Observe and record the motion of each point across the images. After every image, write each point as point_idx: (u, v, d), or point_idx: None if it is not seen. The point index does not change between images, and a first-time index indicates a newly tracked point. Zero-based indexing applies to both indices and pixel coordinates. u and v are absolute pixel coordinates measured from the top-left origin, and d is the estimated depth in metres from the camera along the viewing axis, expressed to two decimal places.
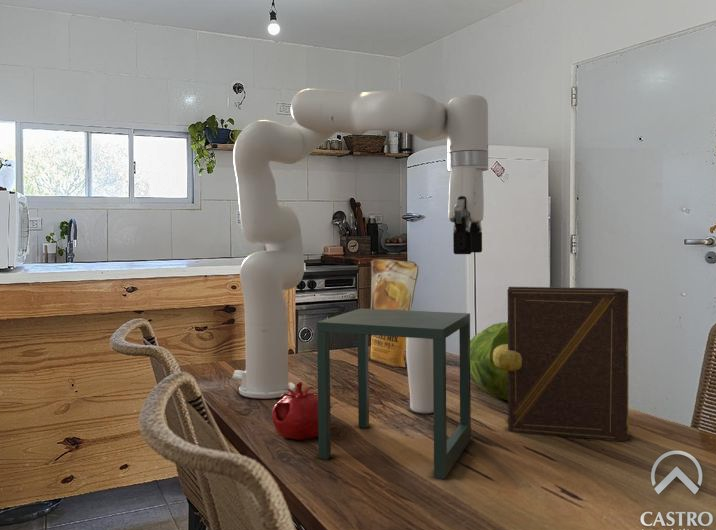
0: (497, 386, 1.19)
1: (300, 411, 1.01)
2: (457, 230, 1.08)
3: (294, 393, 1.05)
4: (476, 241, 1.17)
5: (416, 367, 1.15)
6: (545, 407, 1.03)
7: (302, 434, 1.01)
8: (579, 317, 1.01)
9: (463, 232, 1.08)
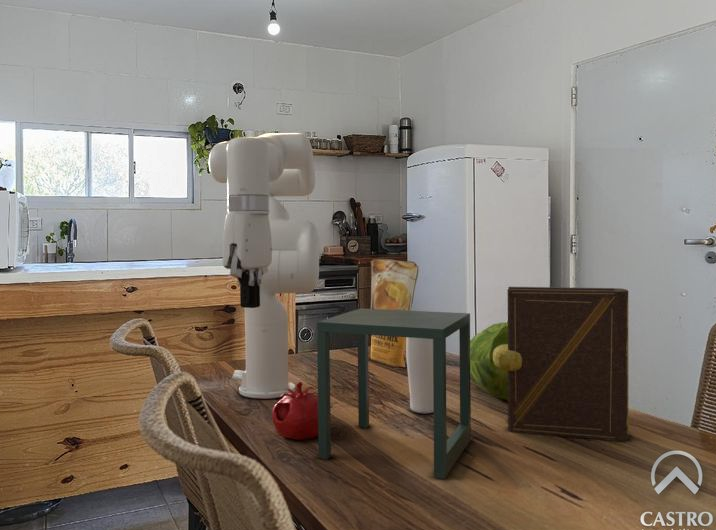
0: (497, 386, 1.19)
1: (300, 411, 1.01)
2: (241, 284, 1.08)
3: (294, 393, 1.05)
4: None
5: (416, 367, 1.15)
6: (545, 407, 1.03)
7: (302, 434, 1.01)
8: (579, 317, 1.01)
9: (247, 286, 1.07)
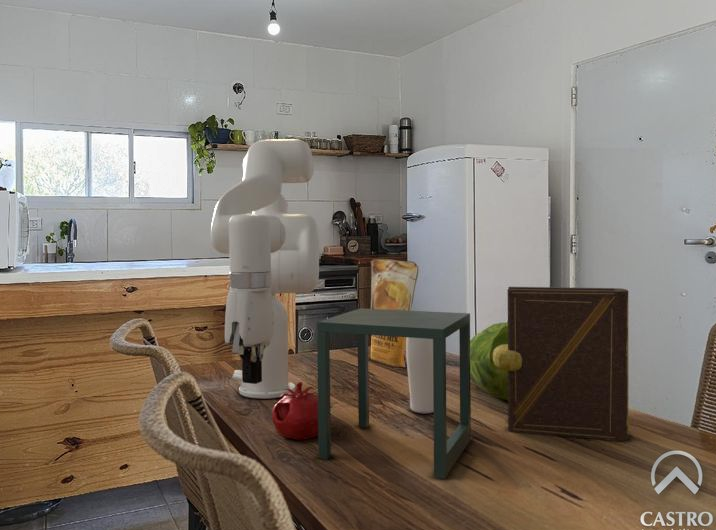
0: (497, 386, 1.19)
1: (300, 411, 1.01)
2: (243, 360, 1.08)
3: (294, 393, 1.05)
4: None
5: (416, 367, 1.15)
6: (545, 407, 1.03)
7: (302, 434, 1.01)
8: (579, 317, 1.01)
9: (249, 362, 1.08)
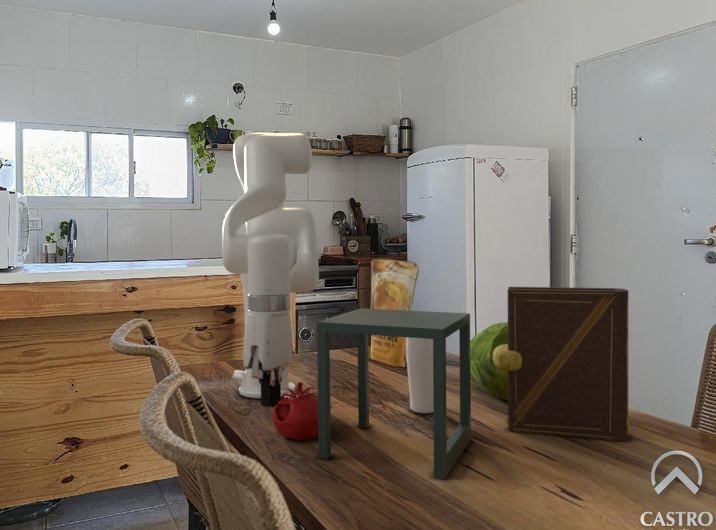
0: (497, 386, 1.19)
1: (301, 411, 1.01)
2: (262, 383, 1.06)
3: (295, 393, 1.05)
4: None
5: (416, 367, 1.15)
6: (545, 407, 1.03)
7: (303, 434, 1.01)
8: (579, 317, 1.01)
9: (268, 386, 1.06)
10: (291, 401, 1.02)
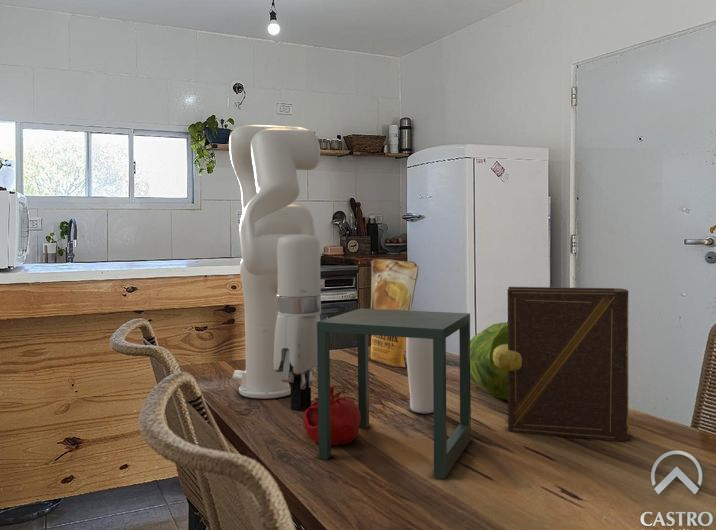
0: (497, 386, 1.19)
1: (333, 416, 0.98)
2: (292, 387, 1.03)
3: None
4: None
5: (416, 367, 1.15)
6: (545, 407, 1.03)
7: (335, 440, 0.98)
8: (579, 317, 1.01)
9: (298, 389, 1.03)
10: None
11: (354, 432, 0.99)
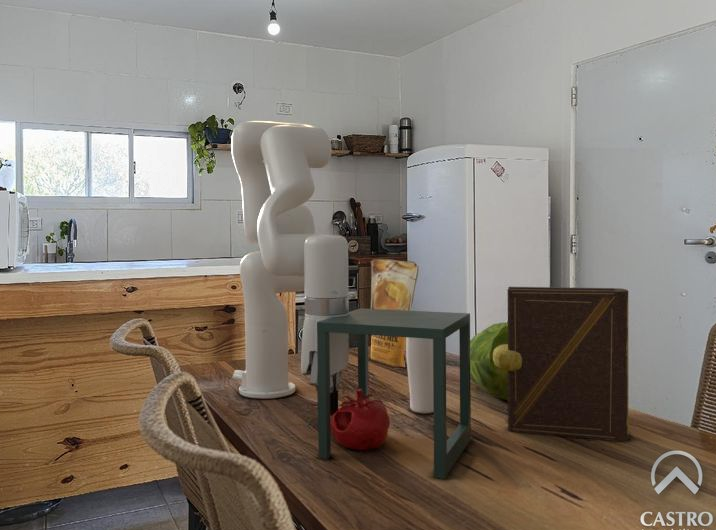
0: (497, 386, 1.19)
1: (363, 420, 0.96)
2: None
3: (354, 401, 1.00)
4: None
5: (416, 368, 1.15)
6: (545, 407, 1.03)
7: (365, 444, 0.96)
8: (579, 317, 1.01)
9: None
10: (352, 409, 0.97)
11: (384, 436, 0.97)
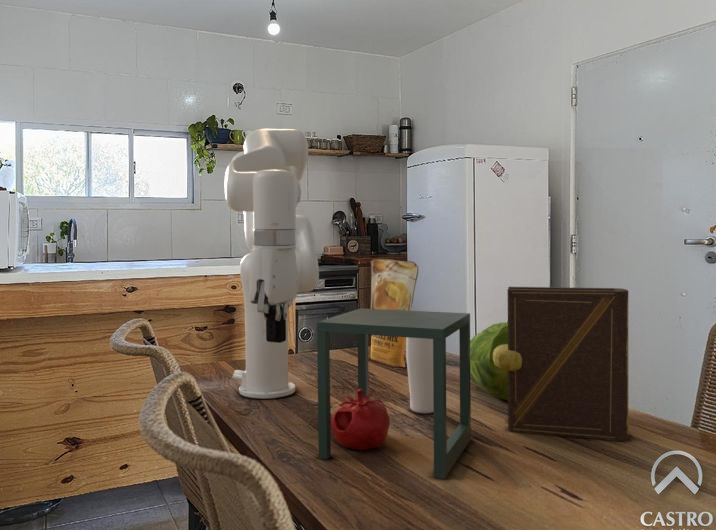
0: (497, 386, 1.19)
1: (363, 420, 0.96)
2: (267, 318, 1.06)
3: (354, 400, 1.00)
4: None
5: (416, 368, 1.15)
6: (545, 407, 1.03)
7: (365, 444, 0.96)
8: (579, 317, 1.01)
9: (273, 321, 1.06)
10: (352, 409, 0.97)
11: (384, 436, 0.97)
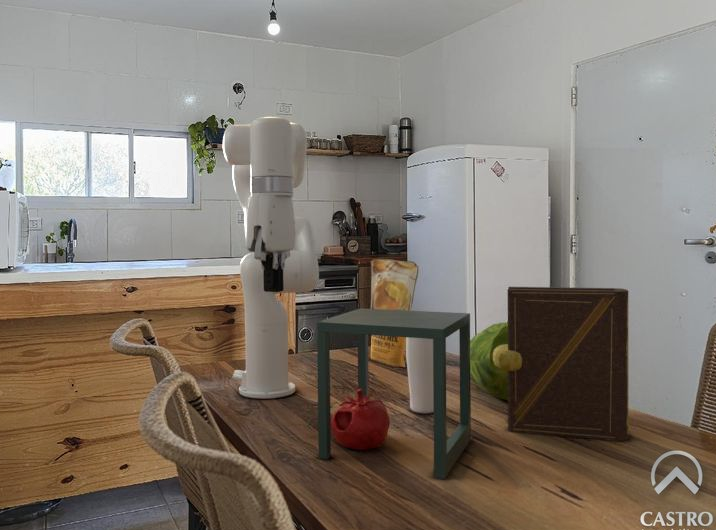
0: (497, 386, 1.19)
1: (363, 420, 0.96)
2: (265, 267, 1.05)
3: (354, 400, 1.00)
4: None
5: (416, 368, 1.15)
6: (545, 407, 1.03)
7: (365, 444, 0.96)
8: (579, 317, 1.01)
9: (271, 269, 1.05)
10: (352, 409, 0.97)
11: (384, 436, 0.97)
